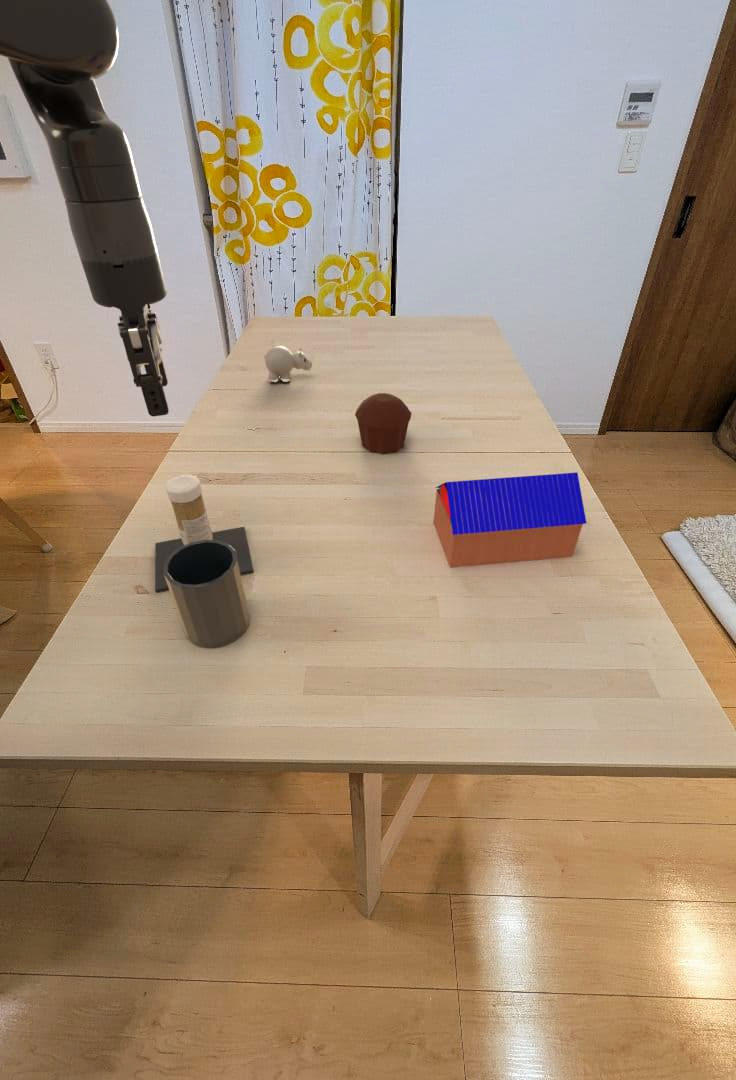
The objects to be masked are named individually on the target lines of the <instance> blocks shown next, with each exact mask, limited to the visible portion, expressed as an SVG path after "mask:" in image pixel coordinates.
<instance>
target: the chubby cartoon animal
mask: <svg viewBox="0 0 736 1080" xmlns="http://www.w3.org/2000/svg"><path fill="white" fill-rule="evenodd" d="M313 362H314V358H313V357H312V355H310V358H309V357H308V358H307V356H306V354H305V353H304V352H303V351H302V348H301V347H300V348H299V349H298V350H297V351H296V352H294V353H293V352H291V350H290V349H288V348H287V347H286V346H283V345H274V346H273V347H271V348H269V349H268V351H267V352H266V353H265V354H264V363H265V367H266V369H267V370H268V372H269V375H268V380H269V379H270V380H276V379H278V378H279V376H280V378H282V379H289V378H290V377H291V372H292V371H293V369H296V370H301V369H302V370H304V371H310V370H311V369H312V367H313Z"/></svg>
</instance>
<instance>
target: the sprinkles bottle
mask: <svg viewBox="0 0 736 1080" xmlns="http://www.w3.org/2000/svg"><path fill="white" fill-rule="evenodd" d="M202 488H203V487H202V485H201V481H200V479H199V478H198V477H197V476H195V475H191V474H181V475H178V476H177V475H176V476H175V477H173V478H170V479H169V480H168V481H167V482H166V484H165V490H166V494H167V497H168V499H169V501H170V502H171V507H172V509H173V513H174V516H175V521H176V524H177V528H178V532H179V535H180V538H182V542H183V544H184V546H185V545H187V544H189V543H191V542H196V541H201V540H213V538H212V537H213V536H212V528H211V524H210V521H209V515H208V512H207V508H206V506H205V502H204V498H203V489H202Z"/></svg>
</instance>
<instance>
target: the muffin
mask: <svg viewBox="0 0 736 1080" xmlns="http://www.w3.org/2000/svg"><path fill="white" fill-rule="evenodd" d="M354 416H355V418H356V420H357V425H358V426H357V427H358V431H359V436H360V441H361V447H362V448H364V449H366V450H367V451H368V450H369V451H370V453H376V454H381V455H385V454H393V453H397V452H398V451H399V450H401V449H402V448H404V447H405V442H406V438H407V437H406V436H407V432H408V429H409V424H410V421H411V418H412V412H411V410H410V409H409V407H408V406H407V405H406V404H405V403H404V401H403V400H402V399H401V398H400V397H397V396H396V395H394V394H391V393H387V392H378V393H373V394H372V395H370V396H368V397H367V398H365V399H364V400H362V402H360V404H359V406H358V407H357V408H356V410H355V412H354ZM369 451H368V452H369Z"/></svg>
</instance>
